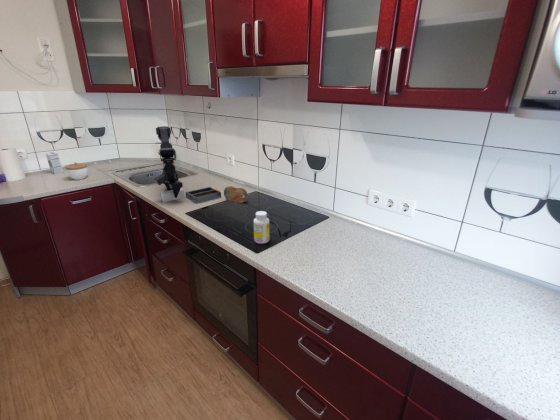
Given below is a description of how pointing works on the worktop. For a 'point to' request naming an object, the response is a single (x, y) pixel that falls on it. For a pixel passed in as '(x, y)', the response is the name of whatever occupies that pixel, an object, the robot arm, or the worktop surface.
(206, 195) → the box
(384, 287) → the worktop surface
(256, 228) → the supplement bottle
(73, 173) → the lidded bowl
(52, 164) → the syrup box
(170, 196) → the panel
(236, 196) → the tin
